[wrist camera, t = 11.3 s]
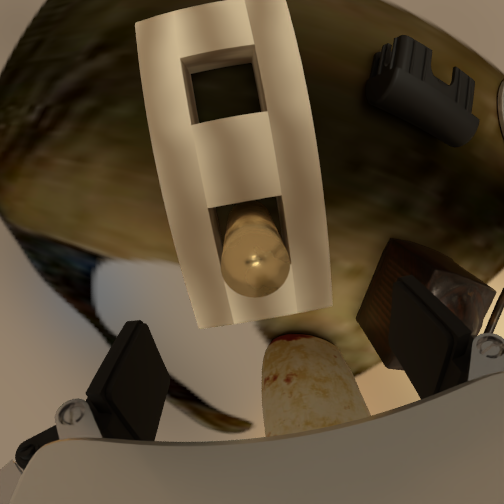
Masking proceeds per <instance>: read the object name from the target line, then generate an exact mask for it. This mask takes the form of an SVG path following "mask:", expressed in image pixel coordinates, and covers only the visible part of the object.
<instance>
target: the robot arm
mask: <svg viewBox="0 0 504 504" xmlns="http://www.w3.org/2000/svg"><path fill="white" fill-rule="evenodd" d="M498 114H499V121H500V126H501V129H502V133H503V136H504V80H503V82H502V83H501V85H500V88H499V92H498ZM471 333H472V331H471V330H470V329H469V328H468V327H467V326H466V325H465V324H464V323H463V322H462V321H461V320H460V319H459V318H458V317H457V316H456V315H455V314H454V313H453V312H452V311H451V310H450V309H449V308H448V307H446V306H445V305H444V304H443V303H442V302H441V301H440V300H439V299H438V298H437V297H436V296H435V295H434V294H433V293H432V292H430V291H429V290H428V289H427V288H426V287H425V286H424V285H423V284H422V283H421V282H420V281H418V280H417V279H416V278H415V277H414V276H413V275H407V276H403V277H399V278H397V280H396V282H394V283H393V289H392V305H391V317H390V328H389V337H388V342H389V346H390V348H391V350H392V351H393V353H394V355H395V356H396V358H397V359H398V361H399V363H400V364H401V366H402V368H403V369H404V371H405V373H406V374H407V376H408V378H409V379H410V381H411V383H412V384H413V386H414V388H415V389H416V391H417V393H418V395H419V396H420V398H421V400H418V401H416V402H413V403H410V404H407V405H404V406H401V407H398V408H395V409H392V410H389V411H386V412H383V413H379V414H376V415H373V416H369V417H365V418H362V419H358V420H354V421H350V422H346V423H342V424H338V425H333V426H329V427H324V428H319V429H314V430H309V431H303V432H297V433H291V434H285V435H278V436H270V437H262V438H253V439H242V440H228V441H209V442H161V441H160V442H159V441H154V440H155V436H156V433H157V429H158V425H159V421H160V417H161V414H162V410H163V406H164V402H165V399H166V395H167V391H168V388H169V384H170V376H169V373H168V371H167V369H166V367H165V365H164V363H163V360H162V358H161V356H160V353H159V351H158V349H157V347H156V344H155V342H154V339H153V337H152V335H151V332H150V330H149V327H148V325H147V324H145V323H143V322H142V321H141V320H137V321H128V322H126V323H125V325H124V326H123V328H122V330H121V331H120V333H119V335H118V336H117V338H116V340H115V342H114V343H113V345H112V347H111V348H110V350H109V352H108V354H107V355H106V357H105V359H104V361H103V362H102V364H101V366H100V368H99V369H98V371H97V373H96V375H95V377H94V378H93V380H92V382H91V384H90V386H89V388H88V389H87V392H86V395H87V396H88V398H87V399H86V401H85V400H82V399H72V400H69V401H67V402H65V403H63V404H62V405H61V406H60V407H59V408H58V410H57V412H56V415H55V423H56V425H55V426H53V427H51V428H49V429H47V430H45V431H43V432H42V433H39V434H37V435H36V436H34V437H32V438H30V439H28V440H26V441H24V442H23V443H21V444H20V445H19V447H18V449H17V451H16V455H15V459H16V462H14V461H13V460H11V461H10V462H9V463H7V464H6V465H5V466H4V467H3V468H2V469H0V504H504V339H503V338H502V337H500V336H499V335H497V334H493V333H484V334H480V335H478V336H476V338H475V339H474V338H473V337H472V336H471Z"/></svg>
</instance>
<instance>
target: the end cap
mask: <svg viewBox="0 0 504 504" xmlns="http://www.w3.org/2000/svg"><path fill="white" fill-rule="evenodd" d="M391 46H392V45H391V44H389V43H387V44H386V45H383V47H382V51H381V52H377V53H376V54H375V55H374V59H373V64H372V69H371V73H370V78H369V79H368V80H367V84H366V98H367V100H368V102H369V103H370V104H371V105H373V106H375V107H377V108H380V109H382V110H384V111H386V112H388V113H390V114H392V115H395V116H397V117H399V118H401V119H403V120H405V121H407V122H408V123H410V124H412V125H414V126H416V127H418V128H420V129H422V130H423V131H425V132H427V133H429V134H431V135H432V136H434V137H436V138H438V139H439V140H441V141H443V142H444V143H446V144H448V145H449V146H452V147H460V146H463V145H464V144H466V143H467V142H468V141H470V140H471V138H472V137H473V136H474V134H475V132H476V130H477V128H478V125H479V119H478V118H477V117H475V116H474V115H473V114H471V112H472V105H473V96H474V87H475V81H474V80H473V79H472V78H470V77H469V76H468V75H467V74H465V73H464V72H463V71H461V70H460V69H459V68H457V67H453V73H452V81H451V84H450V85H447V84H446V83H444V82H443V81H441V80H440V79H438V78H436V77H435V76H434V75H433V73H432V70H431V58H432V50H431V49H429V48H428V47H426V46H424V45H423V44H421V43H419V42H418V41H416V40H414V39H413V38H411V37H409V36H406V35H401V36H399V37H397V38H394V43H393V49H392V52H391Z"/></svg>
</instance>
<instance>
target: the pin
mask: <svg viewBox="0 0 504 504" xmlns="http://www.w3.org/2000/svg"><path fill="white" fill-rule="evenodd" d="M289 271H290V259H289V255H288V253H287V250H286V248H285V246H284V244H283V241H282V239H281V237H280V235H279V233H278V231H277V228H276V226H275V224H274V222H273V220H272V218H271V215H270V213H269V211H268V210H267V208H266V207H265V206H264V205H263V204H261V203H259V202H257V201H253V200H250V201H245V202H240V203H238V204H237V205H235V206H234V207H233V208H232V210H231V211H230V214H229V217H228V222H227V228H226V234H225V240H224V246H223V252H222V258H221V273H222V277H223V279H224V281H225V282H226V284H227V285H228V286H229V287H230V288H231V289H232V290H233V291H234V292H236V293H238V294H240V295H242V296H246V297H252V298H257V297H264V296H267V295H270V294H272V293H274V292H275V291H277V290H278V289H279V288H280V287H281V286H282V285H283V284H284V282H285V281H286V279H287V277H288V274H289Z"/></svg>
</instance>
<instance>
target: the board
mask: <svg viewBox="0 0 504 504" xmlns="http://www.w3.org/2000/svg"><path fill="white" fill-rule="evenodd" d="M135 29H136V39H137V49H138V57H139V66H140V73H141V81H142V88H143V95H144V101H145V107H146V114H147V120H148V125H149V131H150V137H151V142H152V147H153V152H154V157H155V162H156V167H157V172H158V177H159V182H160V186H161V191H162V195H163V200H164V204H165V208H166V212H167V217H168V221H169V225H170V229H171V233H172V237H173V241H174V245H175V248H176V252H177V256H178V260H179V263H180V267H181V271H182V274H183V278H184V281H185V285H186V288H187V292H188V295H189V298H190V301H191V305H192V308H193V312H194V315H195V318H196V321H197V324H198V328H199V329H203V328H211V327H218V326H224V325H231V324H238V323H244V322H251V321H257V320H263V319H269V318H274V317H280V316H285V315H291V314H296V313H301V312H306V311H312V310H317V309H321V308H326V307H331V306H333V303H332V284H331V268H330V255H329V243H328V232H327V221H326V212H325V203H324V194H323V186H322V178H321V171H320V163H319V156H318V150H317V143H316V137H315V131H314V125H313V119H312V113H311V108H310V102H309V97H308V92H307V87H306V82H305V77H304V72H303V68H302V63H301V59H300V54H299V50H298V46H297V41H296V37H295V33H294V29H293V25H292V21H291V18H290V14H289V10H288V7H287V3H286V0H226V1H220V2H214V3H208V4H203V5H198V6H194V7H189V8H185V9H181V10H177V11H173V12H169V13H166V14H162V15H159V16H155V17H152V18H149V19H146V20H143V21H140V22H137V23H135ZM246 63H252V66H253V71H254V76H255V81H256V86H257V91H258V97H259V102H260V107H261V112H258V113H252V114H245V115H239V116H234V117H228V118H223V119H218V120H213V121H208V122H203V123H199V119H198V113H197V108H196V102H195V96H194V91H193V85H192V79H191V74H193V73H197V72H202V71H207V70H212V69H217V68H222V67H228V66H233V65H240V64H246ZM274 196H276V201H277V208H278V214H279V221H280V227H281V234H282V241H283V244H284V246H285V248H286V250H287V253H288V255H289V259H290V271H289V274H288V277H287V279H286V281H285V282H284V284H283V285H282V286H281V287H280V288H279V289H278V290H277V291H275V292H274V293H272V294H270V295H267V296H264V297H257V298H252V297H246V296H242V295H240V294H238V293H236V292H234V291H233V290H232V289H231V288H230V287H229V286H228V285H227V284H226V282H225V281H224V279H223V277H222V273H221V258H222V252H223V246H224V245H223V241H222V236H221V231H220V226H219V222H218V217H217V212H216V207H218V206H223V205H228V204H234V203H239V202H245V201H250V200H256V199H262V198H268V197H274Z"/></svg>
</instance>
